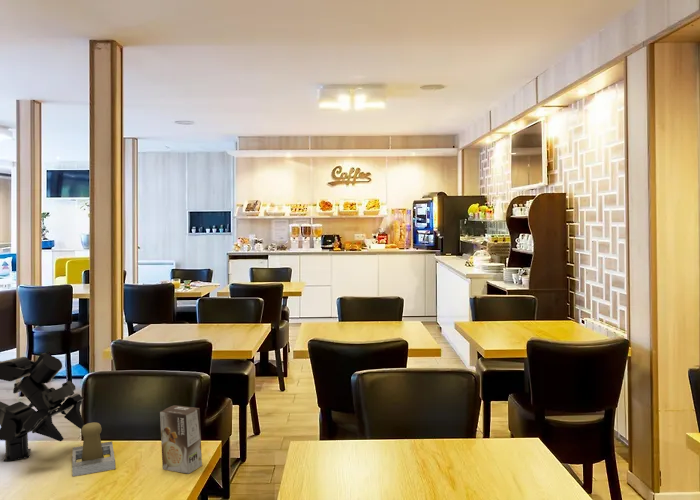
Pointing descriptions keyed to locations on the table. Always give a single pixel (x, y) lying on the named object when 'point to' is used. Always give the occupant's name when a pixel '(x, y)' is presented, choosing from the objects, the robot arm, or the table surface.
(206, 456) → the table surface
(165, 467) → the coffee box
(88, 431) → the cork
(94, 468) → the silver metal frame
